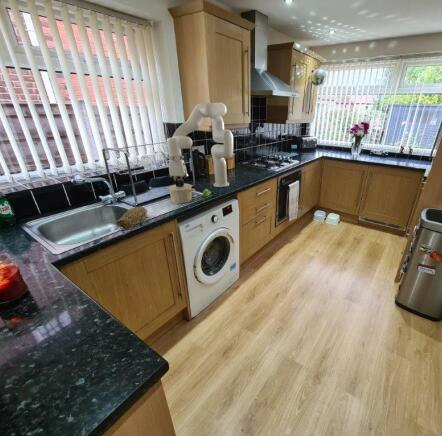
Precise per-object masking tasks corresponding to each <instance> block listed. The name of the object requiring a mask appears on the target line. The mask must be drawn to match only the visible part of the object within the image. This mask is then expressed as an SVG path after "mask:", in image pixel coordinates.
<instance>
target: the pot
mask: <svg viewBox="0 0 442 436" xmlns="http://www.w3.org/2000/svg"><path fill="white" fill-rule="evenodd" d="M165 191H166V192H167V191H169V195H170V196H169V197H170V202H172V203H173V204H186V203H190V202H191V201H193V193H192V192H194V191H196V189H195V188H192V187H191V188H190V189H187V190H183V191H171V190H169V187H167V188H166V189H165Z"/></svg>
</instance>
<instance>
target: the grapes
mask: <svg viewBox="0 0 442 436" xmlns="http://www.w3.org/2000/svg"><path fill="white" fill-rule="evenodd" d="M211 194H212V191H210V190H209V189H208V188H205V189H204V190H203V192H202V193H201V197H203V198H205V197H206V198H209V196H210V195H211Z"/></svg>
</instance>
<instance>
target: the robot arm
mask: <svg viewBox="0 0 442 436" xmlns="http://www.w3.org/2000/svg"><path fill="white" fill-rule="evenodd" d="M227 110H228V109H227V106H226V104H224V103H223V102H204V103H202V102H201V103H197V104H196V105H195V106H194V107H193V110H192V111H191V113H190V115H189V117H188V119H187V120H186V121H185V122H183V123H182V124H180V126H178V128H176V130H175V131H174V132H173V135H172V137H168V138H166V146H167V152H168V157H169V160H168V172H169V174H168V177H169V178H171V179H173V181H174V185H176V187H178V182H177V179H178V177H179V179H181V181H180V183H181V187H183V186H184V184H185V179H186V178H188V177H189V174H188V171H187V166H186V163H185V160H184V159H185V156H183V154H182V150H183V149H184V150H185V149H187V150H188V149H190V148H192V146H193V140H192V138H191V137H190V136H188V135H189V134H190V133H193V132H196V131H197V130H199V129H200V127H201V125H202V124H203V122H204V119H205V118H209V119H210V120H211V127H212V141H213V142H215V143H218V144H214V145H212V147H211V148H210V153H211V157H212V162H213V170H214V171H213V173H214V183H213V187H215V188H226V187H229V186H230V182H228V174H227V162H226V159H231V158H232V157H233V155H234V135H233V132H232V131H231V130H230V129H225V122H224V118H223V117H224V116H225V115H226V114H227Z"/></svg>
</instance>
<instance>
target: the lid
mask: <svg viewBox="0 0 442 436" xmlns="http://www.w3.org/2000/svg"><path fill="white" fill-rule="evenodd" d="M180 181H181V178H177V182H178V187H176V184H172V185H170V186H169V187H168V188H169V190H171V191H183V190H187V189H190V188H191V189H192V184H189V183H184V186H183V187H181V183H180Z"/></svg>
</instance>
